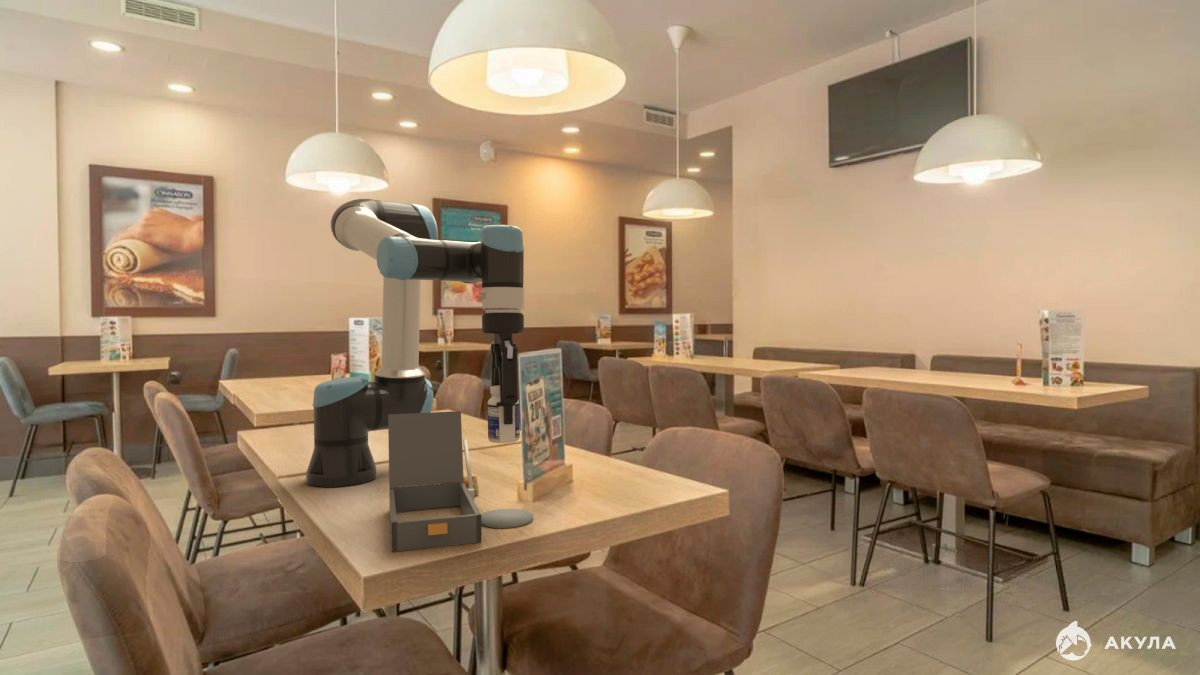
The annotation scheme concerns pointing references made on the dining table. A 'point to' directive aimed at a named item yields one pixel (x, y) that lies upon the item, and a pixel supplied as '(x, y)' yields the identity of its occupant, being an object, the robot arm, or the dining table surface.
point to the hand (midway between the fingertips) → (504, 439)
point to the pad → (506, 518)
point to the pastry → (475, 484)
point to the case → (430, 481)
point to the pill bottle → (494, 416)
